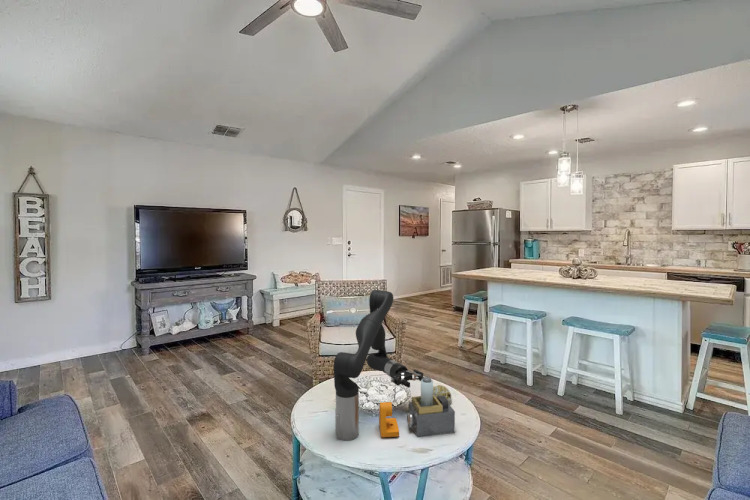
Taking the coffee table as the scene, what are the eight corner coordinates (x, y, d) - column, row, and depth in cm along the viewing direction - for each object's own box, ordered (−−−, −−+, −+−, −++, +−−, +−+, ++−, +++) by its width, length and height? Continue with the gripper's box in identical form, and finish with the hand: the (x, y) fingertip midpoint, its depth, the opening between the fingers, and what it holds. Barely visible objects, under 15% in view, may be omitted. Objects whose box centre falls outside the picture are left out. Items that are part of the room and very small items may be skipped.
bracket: (399, 438, 143) (399, 409, 142) (381, 439, 143) (381, 409, 142) (395, 423, 154) (395, 396, 153) (379, 424, 153) (379, 397, 153)
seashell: (456, 404, 170) (447, 386, 168) (438, 413, 170) (428, 396, 168) (450, 393, 180) (441, 376, 179) (433, 402, 180) (424, 385, 178)
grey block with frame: (412, 437, 143) (412, 408, 143) (404, 423, 154) (404, 395, 153) (454, 432, 147) (454, 404, 146) (444, 418, 158) (444, 392, 157)
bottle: (423, 410, 147) (423, 381, 146) (419, 404, 152) (419, 376, 151) (434, 409, 148) (434, 380, 147) (430, 403, 153) (430, 375, 152)
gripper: (383, 365, 164) (404, 378, 151) (408, 359, 172) (430, 371, 158) (383, 381, 165) (404, 395, 151) (408, 375, 172) (430, 387, 158)
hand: (417, 383), depth 155 cm, fingers open, 8 cm apart
